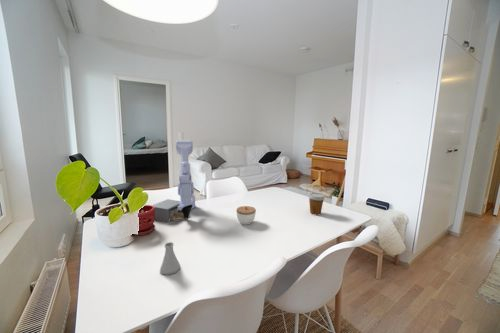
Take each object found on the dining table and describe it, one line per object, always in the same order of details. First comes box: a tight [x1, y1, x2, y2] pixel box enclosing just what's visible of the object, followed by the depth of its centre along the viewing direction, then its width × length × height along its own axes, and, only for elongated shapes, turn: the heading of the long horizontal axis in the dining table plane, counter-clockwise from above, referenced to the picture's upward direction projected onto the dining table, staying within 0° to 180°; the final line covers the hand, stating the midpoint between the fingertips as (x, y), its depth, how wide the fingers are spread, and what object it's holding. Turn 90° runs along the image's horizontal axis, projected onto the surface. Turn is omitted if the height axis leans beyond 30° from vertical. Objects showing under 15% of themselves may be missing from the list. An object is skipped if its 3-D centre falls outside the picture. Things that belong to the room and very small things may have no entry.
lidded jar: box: [236, 205, 256, 225], centre depth 124 cm, size 11×11×9 cm
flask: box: [159, 241, 181, 276], centre depth 82 cm, size 7×7×10 cm
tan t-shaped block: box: [169, 207, 187, 221], centre depth 130 cm, size 8×12×5 cm
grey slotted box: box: [151, 198, 183, 223], centre depth 132 cm, size 14×12×8 cm
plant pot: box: [137, 204, 156, 236], centre depth 111 cm, size 13×13×12 cm
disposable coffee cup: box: [308, 192, 325, 216], centre depth 139 cm, size 10×10×12 cm
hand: (186, 217), depth 127 cm, fingers closed
